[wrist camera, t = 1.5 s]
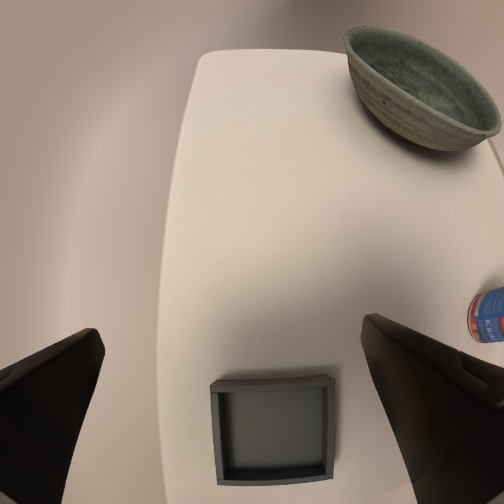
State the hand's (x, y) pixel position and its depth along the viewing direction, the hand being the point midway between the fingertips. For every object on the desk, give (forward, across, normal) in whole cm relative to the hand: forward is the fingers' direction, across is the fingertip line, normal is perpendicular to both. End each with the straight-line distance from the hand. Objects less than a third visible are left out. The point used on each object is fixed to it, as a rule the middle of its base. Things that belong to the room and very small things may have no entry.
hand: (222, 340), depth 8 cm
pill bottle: (+10, -25, +10) cm, 29 cm away
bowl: (+26, -22, -11) cm, 36 cm away
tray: (+7, -2, +15) cm, 16 cm away
